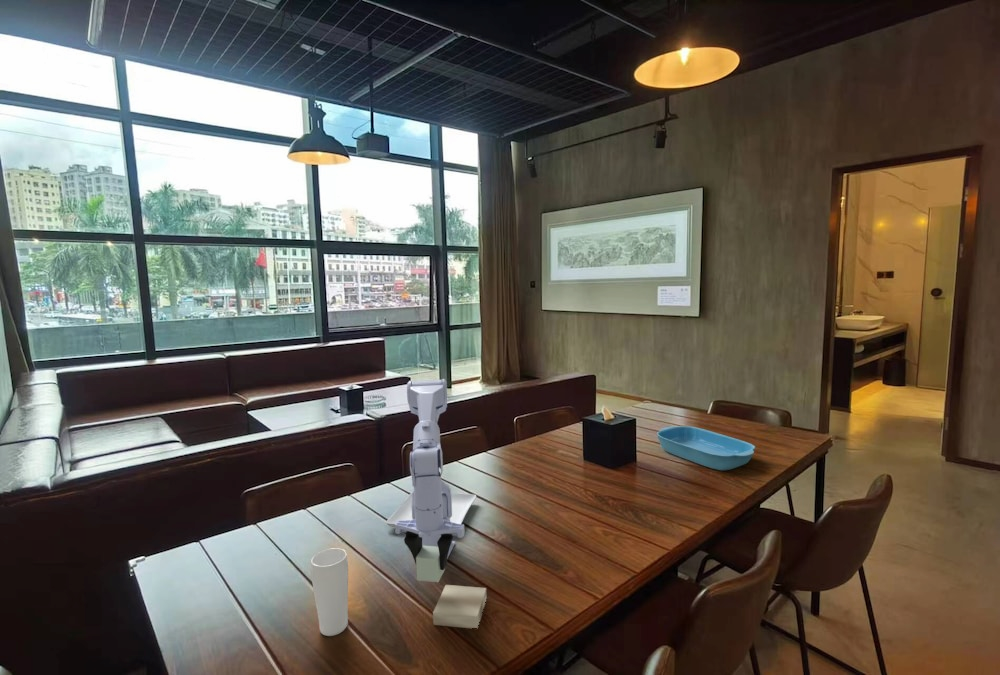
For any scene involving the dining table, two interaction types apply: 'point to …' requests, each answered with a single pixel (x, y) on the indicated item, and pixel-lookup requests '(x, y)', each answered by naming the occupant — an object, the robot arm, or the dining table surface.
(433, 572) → the sage block
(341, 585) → the drinking glass
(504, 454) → the dining table surface
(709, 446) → the casserole dish
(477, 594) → the birch base
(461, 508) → the salad plate
